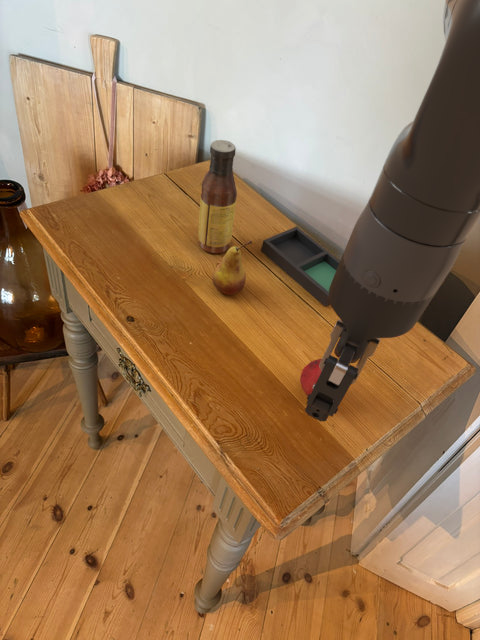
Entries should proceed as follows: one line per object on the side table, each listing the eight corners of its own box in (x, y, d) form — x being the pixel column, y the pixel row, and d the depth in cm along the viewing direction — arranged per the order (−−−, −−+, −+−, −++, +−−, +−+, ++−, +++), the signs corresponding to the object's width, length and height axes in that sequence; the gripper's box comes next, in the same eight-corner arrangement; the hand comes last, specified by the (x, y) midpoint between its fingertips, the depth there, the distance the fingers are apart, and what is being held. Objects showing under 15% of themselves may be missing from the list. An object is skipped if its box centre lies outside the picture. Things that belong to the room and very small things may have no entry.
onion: (287, 392, 67) (300, 360, 62) (310, 371, 71) (325, 338, 65) (318, 419, 65) (335, 387, 59) (340, 395, 68) (358, 364, 63)
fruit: (236, 276, 83) (247, 221, 74) (247, 298, 79) (259, 243, 70) (206, 279, 81) (214, 223, 72) (216, 302, 77) (225, 247, 69)
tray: (293, 236, 93) (296, 226, 91) (357, 288, 85) (362, 278, 84) (260, 250, 88) (263, 240, 87) (325, 307, 81) (329, 296, 79)
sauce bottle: (236, 244, 89) (253, 147, 74) (217, 260, 85) (232, 161, 70) (208, 229, 90) (220, 132, 76) (189, 244, 86) (197, 144, 72)
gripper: (420, 346, 30) (342, 458, 42) (455, 237, 39) (383, 354, 51) (314, 297, 31) (268, 418, 43) (372, 203, 40) (320, 324, 52)
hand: (330, 383), depth 47 cm, fingers open, 8 cm apart
